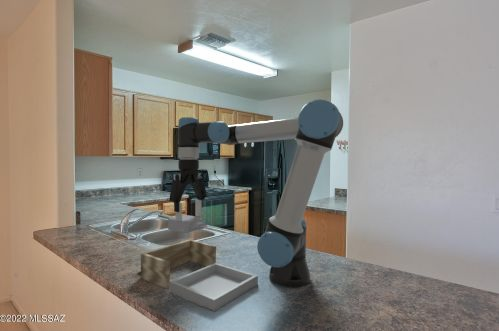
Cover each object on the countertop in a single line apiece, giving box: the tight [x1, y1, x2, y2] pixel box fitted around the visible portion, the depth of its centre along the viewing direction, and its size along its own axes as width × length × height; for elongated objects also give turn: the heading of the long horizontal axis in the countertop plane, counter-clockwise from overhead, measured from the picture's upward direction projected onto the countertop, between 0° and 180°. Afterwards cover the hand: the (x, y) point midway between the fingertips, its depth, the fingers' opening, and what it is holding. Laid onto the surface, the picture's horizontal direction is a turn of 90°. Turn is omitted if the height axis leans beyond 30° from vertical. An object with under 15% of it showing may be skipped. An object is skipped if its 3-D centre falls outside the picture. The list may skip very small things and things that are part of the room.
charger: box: [167, 214, 208, 234], centre depth 109 cm, size 5×9×15 cm
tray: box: [168, 262, 259, 313], centre depth 99 cm, size 20×22×4 cm
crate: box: [140, 239, 217, 290], centre depth 113 cm, size 15×24×9 cm, turn 144°
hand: (189, 218), depth 109 cm, fingers closed on charger, 9 cm apart
